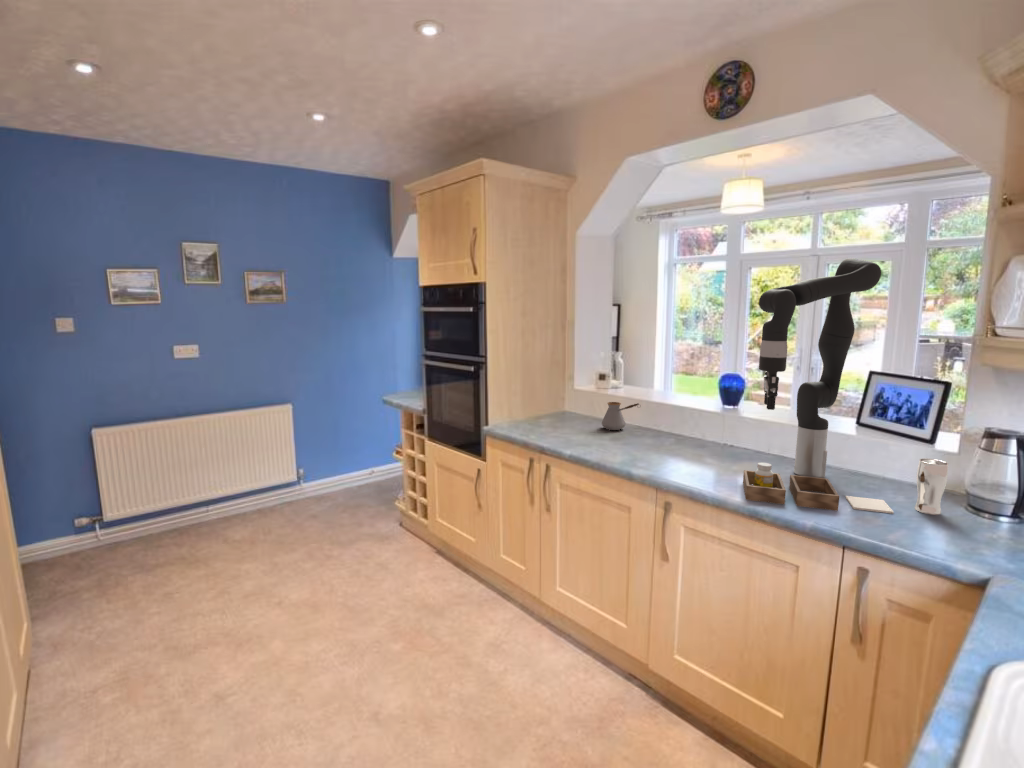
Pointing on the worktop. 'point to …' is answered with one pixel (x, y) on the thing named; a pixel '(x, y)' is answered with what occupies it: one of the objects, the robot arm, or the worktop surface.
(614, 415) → the coffee pot
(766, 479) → the supplement bottle
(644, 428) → the worktop surface
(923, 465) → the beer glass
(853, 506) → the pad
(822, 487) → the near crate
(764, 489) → the far crate
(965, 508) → the worktop surface
